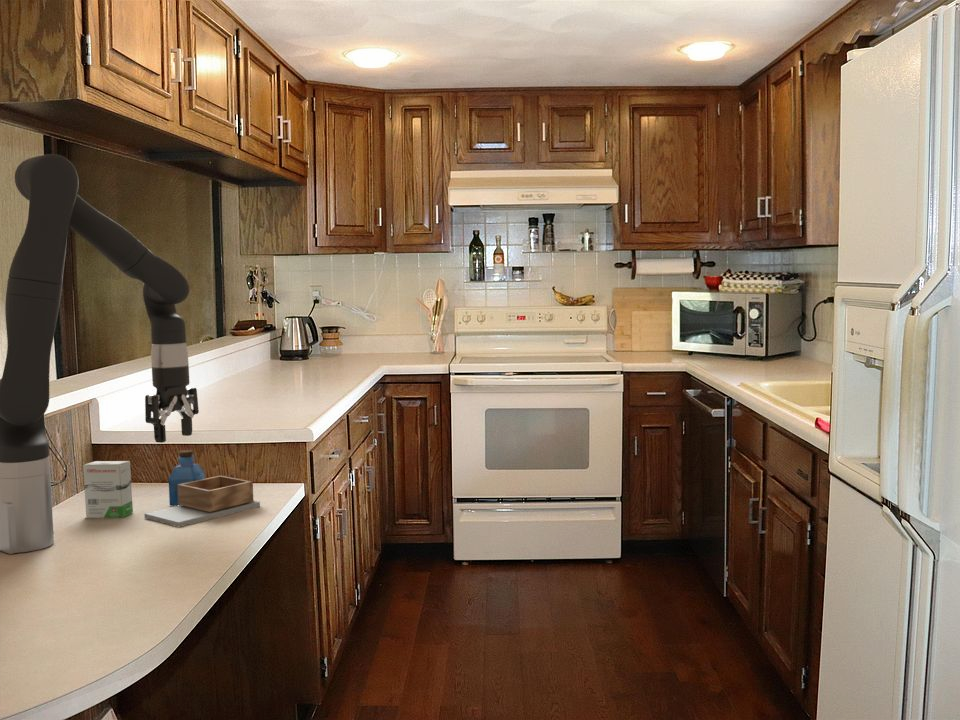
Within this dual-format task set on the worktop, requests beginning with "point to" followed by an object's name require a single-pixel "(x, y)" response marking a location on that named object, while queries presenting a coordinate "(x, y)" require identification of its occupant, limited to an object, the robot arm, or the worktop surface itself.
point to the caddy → (215, 493)
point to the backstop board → (194, 513)
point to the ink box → (108, 489)
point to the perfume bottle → (183, 474)
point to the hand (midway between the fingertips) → (174, 438)
